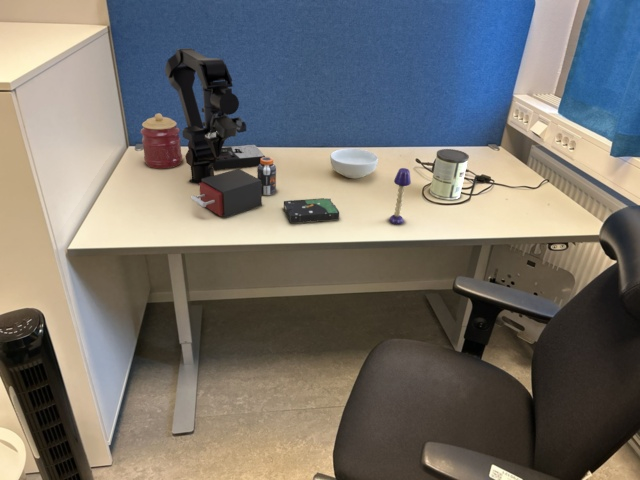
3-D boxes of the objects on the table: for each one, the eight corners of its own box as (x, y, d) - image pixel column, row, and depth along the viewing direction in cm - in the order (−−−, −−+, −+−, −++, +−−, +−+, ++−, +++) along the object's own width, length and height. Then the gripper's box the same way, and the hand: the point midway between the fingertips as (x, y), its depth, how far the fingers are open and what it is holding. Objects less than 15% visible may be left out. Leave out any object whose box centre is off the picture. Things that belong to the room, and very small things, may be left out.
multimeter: (206, 158, 175) (205, 145, 173) (255, 153, 182) (255, 141, 180) (213, 171, 165) (212, 157, 162) (266, 165, 172) (266, 152, 169)
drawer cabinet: (224, 218, 135) (223, 191, 131) (203, 204, 142) (201, 178, 138) (261, 205, 144) (261, 180, 140) (239, 193, 151) (238, 168, 146)
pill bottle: (272, 196, 150) (273, 163, 144) (255, 194, 151) (254, 160, 145) (278, 189, 155) (278, 156, 149) (260, 186, 156) (260, 154, 150)
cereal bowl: (365, 164, 179) (367, 146, 175) (383, 181, 166) (386, 162, 162) (323, 167, 174) (324, 149, 170) (338, 185, 160) (340, 165, 157)
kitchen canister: (167, 153, 177) (161, 106, 168) (190, 162, 171) (186, 113, 162) (137, 162, 168) (130, 113, 159) (160, 172, 161) (154, 121, 152)
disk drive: (290, 225, 134) (339, 220, 138) (290, 216, 133) (340, 211, 137) (282, 208, 143) (329, 204, 147) (283, 200, 142) (329, 196, 145)
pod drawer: (207, 220, 132) (205, 198, 129) (188, 207, 138) (186, 186, 135) (254, 204, 142) (254, 184, 139) (234, 193, 148) (234, 173, 145)
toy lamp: (406, 225, 138) (415, 172, 130) (392, 226, 137) (400, 173, 129) (399, 217, 142) (407, 165, 134) (385, 218, 141) (393, 166, 133)
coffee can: (433, 185, 165) (440, 146, 158) (462, 191, 162) (471, 152, 155) (426, 195, 157) (433, 155, 150) (456, 202, 154) (466, 162, 147)
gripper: (200, 117, 124) (204, 172, 132) (257, 107, 135) (257, 158, 143) (179, 107, 130) (184, 160, 138) (234, 99, 142) (236, 148, 150)
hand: (216, 157), depth 142 cm, fingers closed
